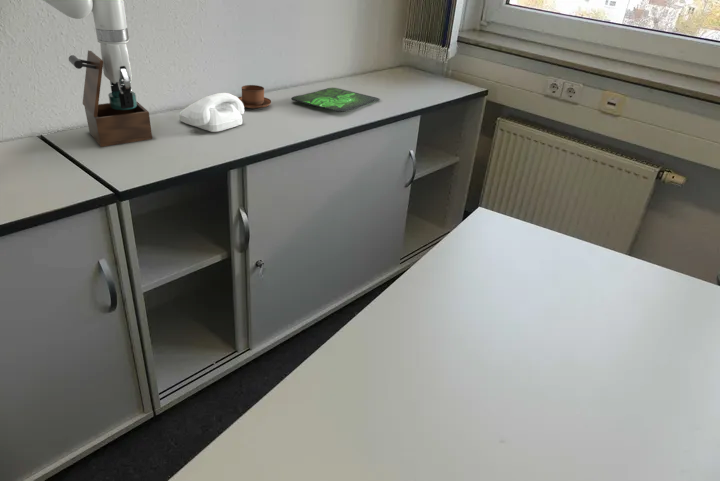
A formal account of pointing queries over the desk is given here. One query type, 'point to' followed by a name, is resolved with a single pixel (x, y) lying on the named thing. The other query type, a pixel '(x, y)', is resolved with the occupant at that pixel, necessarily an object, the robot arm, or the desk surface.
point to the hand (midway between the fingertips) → (123, 103)
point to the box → (119, 125)
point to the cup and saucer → (254, 97)
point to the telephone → (214, 112)
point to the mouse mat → (335, 99)
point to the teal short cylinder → (115, 101)
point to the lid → (90, 80)
